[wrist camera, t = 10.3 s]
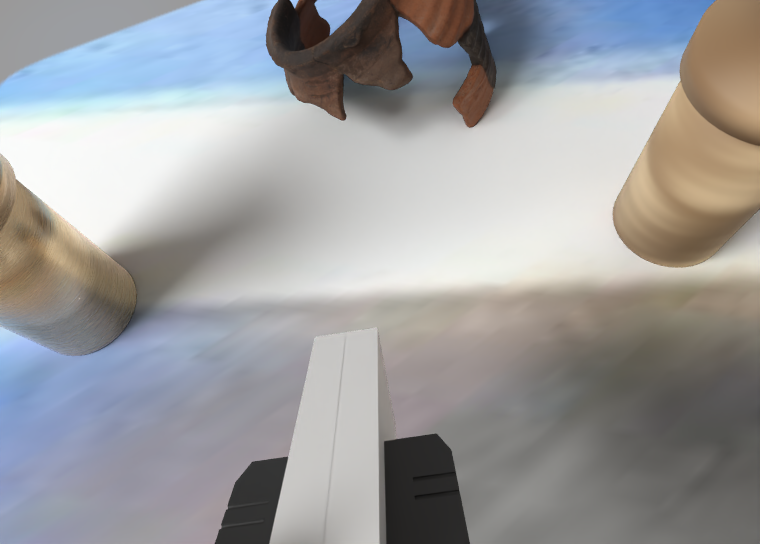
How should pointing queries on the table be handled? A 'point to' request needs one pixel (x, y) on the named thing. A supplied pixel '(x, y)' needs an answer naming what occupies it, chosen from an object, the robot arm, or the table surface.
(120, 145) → the table surface
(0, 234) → the aperture bracket
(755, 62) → the oak collar post
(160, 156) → the table surface
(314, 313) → the table surface
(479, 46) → the broken brown pot
